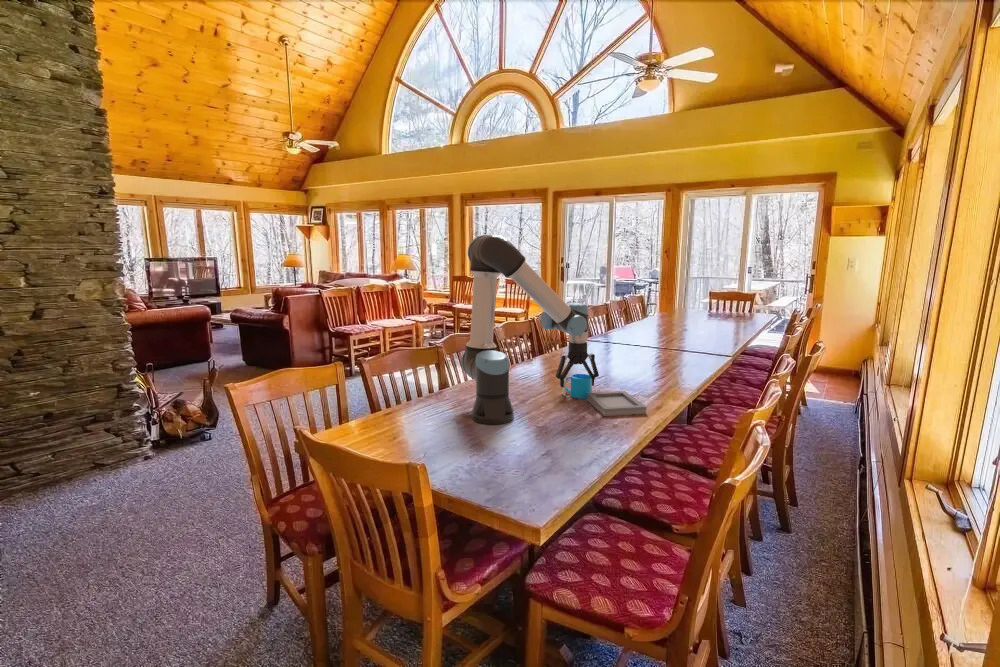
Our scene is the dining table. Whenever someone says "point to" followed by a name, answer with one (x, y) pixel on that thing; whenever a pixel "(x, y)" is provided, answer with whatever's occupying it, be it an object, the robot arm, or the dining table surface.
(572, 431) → the dining table surface
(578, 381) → the mug
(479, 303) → the robot arm
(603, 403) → the tray
